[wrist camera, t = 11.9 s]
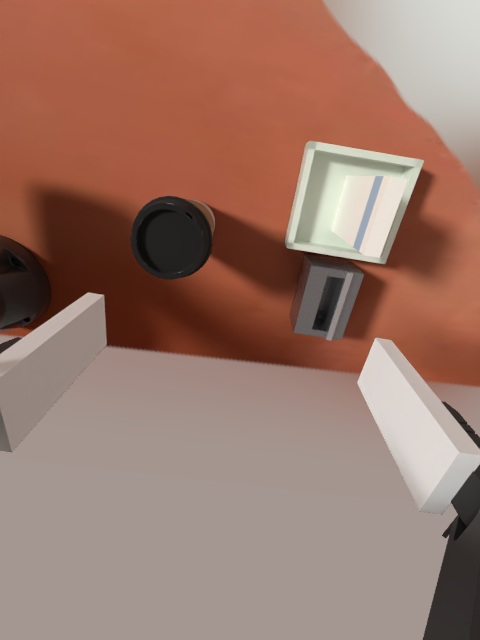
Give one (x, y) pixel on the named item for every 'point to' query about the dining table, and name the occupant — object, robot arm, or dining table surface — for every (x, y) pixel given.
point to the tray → (325, 192)
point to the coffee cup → (173, 236)
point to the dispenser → (324, 297)
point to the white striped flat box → (368, 211)
